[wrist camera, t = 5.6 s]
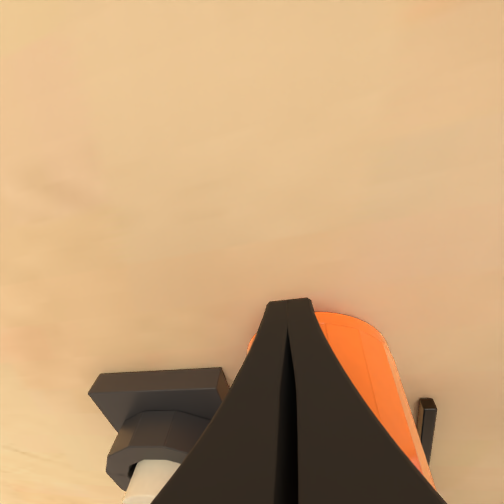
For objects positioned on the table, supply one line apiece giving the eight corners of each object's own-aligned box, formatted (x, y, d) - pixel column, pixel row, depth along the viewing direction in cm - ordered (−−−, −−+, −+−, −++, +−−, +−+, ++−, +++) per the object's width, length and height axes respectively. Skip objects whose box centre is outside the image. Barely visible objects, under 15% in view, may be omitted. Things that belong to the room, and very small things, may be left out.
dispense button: (124, 453, 15) (106, 494, 14) (197, 454, 15) (187, 497, 13) (153, 490, 17) (140, 529, 16) (219, 492, 17) (212, 534, 15)
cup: (304, 288, 11) (325, 559, 6) (420, 351, 13) (526, 606, 7) (222, 362, 14) (185, 575, 9) (323, 404, 16) (344, 604, 11)
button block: (99, 373, 17) (64, 429, 14) (221, 367, 15) (207, 427, 13) (164, 465, 21) (147, 519, 19) (260, 467, 20) (256, 525, 17)
